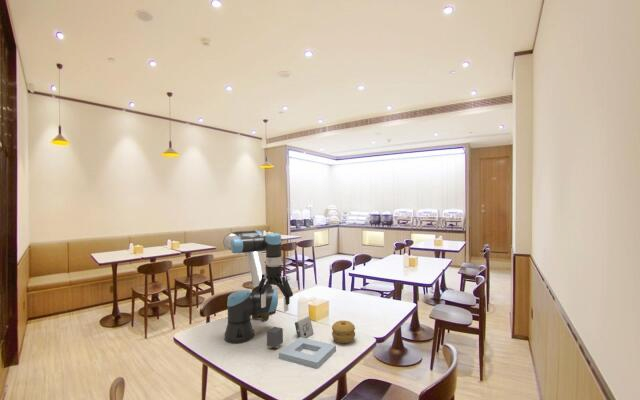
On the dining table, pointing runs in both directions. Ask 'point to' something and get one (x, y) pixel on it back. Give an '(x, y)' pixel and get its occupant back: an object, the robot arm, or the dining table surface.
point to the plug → (274, 337)
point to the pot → (343, 331)
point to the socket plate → (306, 359)
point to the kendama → (262, 316)
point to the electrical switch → (304, 327)
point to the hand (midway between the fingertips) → (274, 309)
